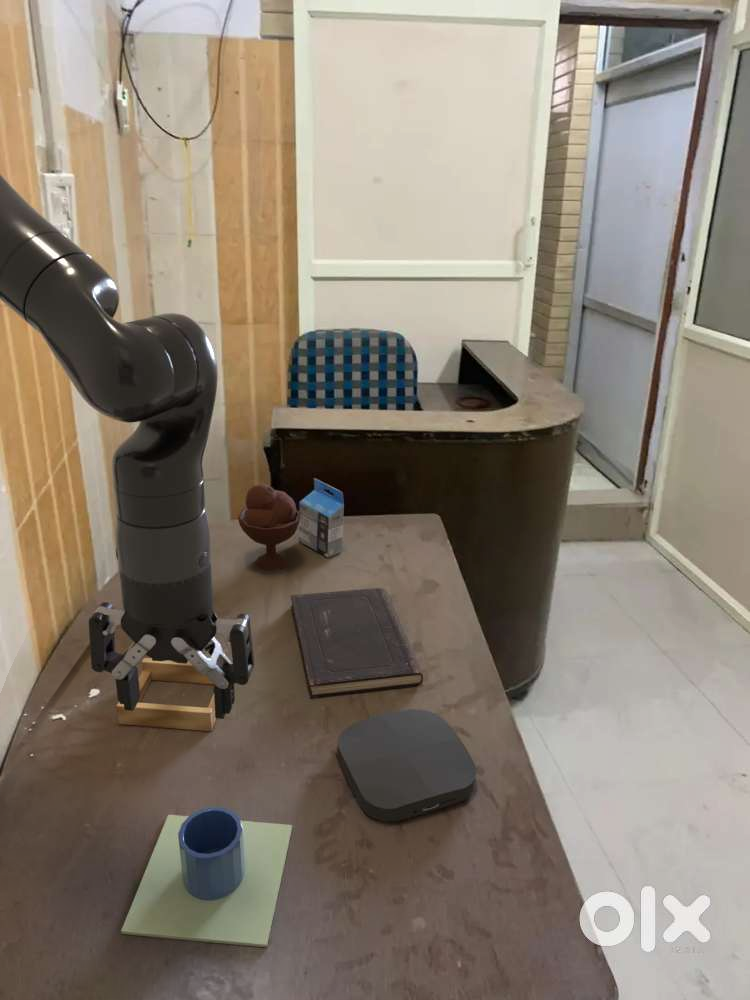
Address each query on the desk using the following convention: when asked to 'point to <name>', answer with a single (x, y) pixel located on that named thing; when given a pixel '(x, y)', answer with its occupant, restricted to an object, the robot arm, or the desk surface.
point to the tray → (169, 713)
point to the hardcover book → (352, 643)
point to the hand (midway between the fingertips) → (177, 708)
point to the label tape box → (322, 520)
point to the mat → (224, 920)
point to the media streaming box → (405, 764)
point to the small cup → (212, 853)
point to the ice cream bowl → (269, 522)
